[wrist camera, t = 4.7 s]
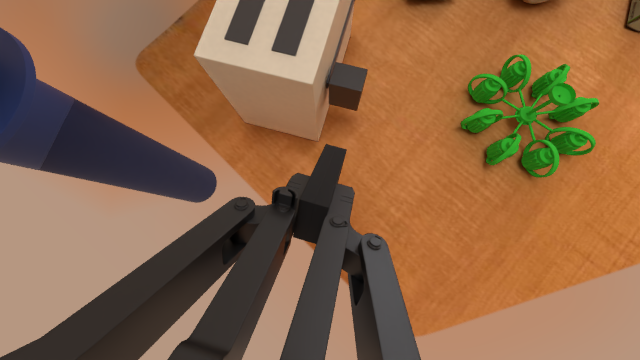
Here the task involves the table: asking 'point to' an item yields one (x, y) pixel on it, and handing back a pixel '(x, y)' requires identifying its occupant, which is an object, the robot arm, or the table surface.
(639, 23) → the medication box
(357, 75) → the slider button
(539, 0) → the ceramic mug
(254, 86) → the toaster
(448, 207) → the table surface
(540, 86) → the chandelier
